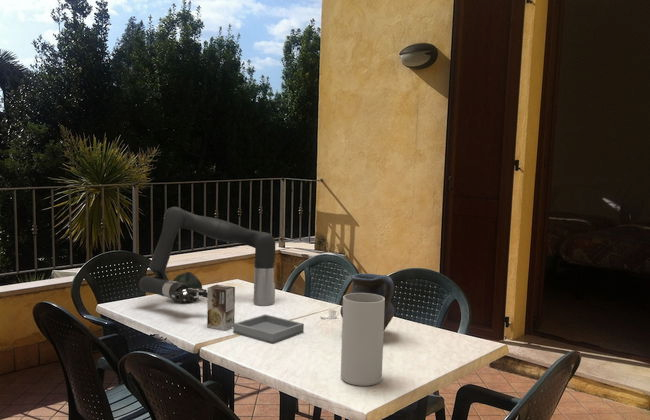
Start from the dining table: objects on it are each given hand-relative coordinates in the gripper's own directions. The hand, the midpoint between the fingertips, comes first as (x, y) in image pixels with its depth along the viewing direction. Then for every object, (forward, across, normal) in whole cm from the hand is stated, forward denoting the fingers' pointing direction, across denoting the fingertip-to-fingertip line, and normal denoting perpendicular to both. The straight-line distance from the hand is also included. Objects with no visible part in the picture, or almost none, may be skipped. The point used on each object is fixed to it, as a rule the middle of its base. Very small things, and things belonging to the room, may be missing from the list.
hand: (201, 297), depth 216 cm
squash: (-32, +18, +10) cm, 38 cm away
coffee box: (+12, 0, +10) cm, 15 cm away
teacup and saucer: (+34, +41, +10) cm, 55 cm away
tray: (+30, +7, +10) cm, 33 cm away
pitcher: (+63, +28, +10) cm, 69 cm away
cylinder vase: (+82, -9, +10) cm, 84 cm away
